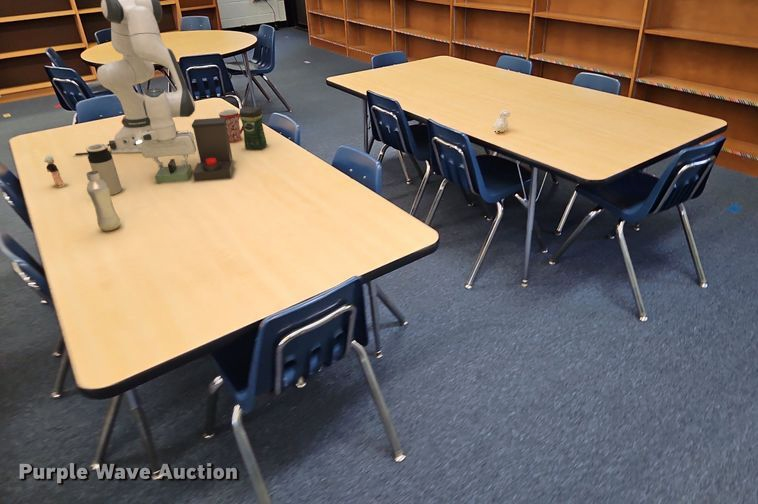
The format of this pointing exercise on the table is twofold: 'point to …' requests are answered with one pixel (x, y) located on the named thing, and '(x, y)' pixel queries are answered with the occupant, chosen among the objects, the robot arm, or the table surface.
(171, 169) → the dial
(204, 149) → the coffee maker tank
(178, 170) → the panel
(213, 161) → the red button
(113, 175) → the travel mug
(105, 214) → the plastic bottle
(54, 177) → the grandmother figurine
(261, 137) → the coffee jar
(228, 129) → the mug
